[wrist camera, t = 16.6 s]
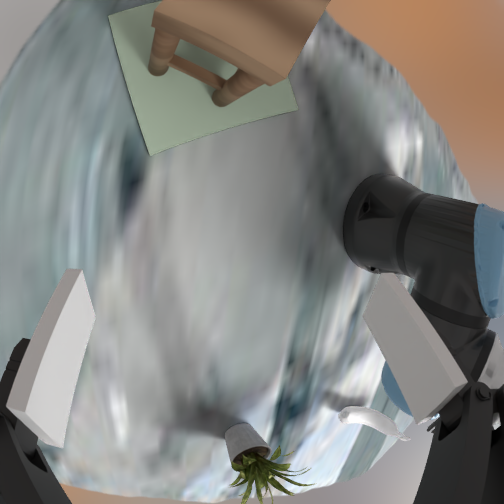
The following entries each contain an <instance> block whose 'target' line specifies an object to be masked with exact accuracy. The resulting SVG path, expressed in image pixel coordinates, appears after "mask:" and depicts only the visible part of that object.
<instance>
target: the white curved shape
mask: <svg viewBox="0 0 504 504" xmlns="http://www.w3.org/2000/svg"><path fill="white" fill-rule="evenodd" d="M338 417H339V420H340V421H341V422H342V423H344V424H350V423H360V424H365V425H368V426H371V427H373V428H375V429H377V430H378V431H380V432H382V433H384V434H386V435H389V436H395V437H397V438H399V439H400V440H403V441H408V440H410V438H409V437H407V436H406V435H404V434H402V433H400V432H399V431H398V427H397V425H396V424H395V422H394V421H393V420H392V419H390V418H389V417H388V416H386V415H384V414H383V413H381V412H379V411H376V410H374V409H370V408H367V407H361V406H348V407H345V408H344V409H342V410H341V411H340V413H339V414H338Z"/></svg>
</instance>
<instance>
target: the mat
mask: <svg viewBox="0 0 504 504" xmlns="http://www.w3.org/2000/svg"><path fill="white" fill-rule="evenodd" d="M161 2H162V1H157V2H153V3H149V4H145V5H141V6H138V7H134V8H131V9H127V10H124V11H121V12H118V13H114V14H111V15H108V18H109V22H110V26H111V30H112V34H113V38H114V42H115V45H116V49H117V53H118V56H119V60H120V64H121V67H122V71H123V74H124V77H125V81H126V84H127V87H128V91H129V94H130V97H131V101H132V104H133V107H134V110H135V113H136V116H137V119H138V122H139V125H140V128H141V131H142V134H143V137H144V140H145V143H146V146H147V149H148V152H149V155H150V156H151V155H154V154H156V153H159V152H161V151H164V150H167V149H169V148H172V147H175V146H177V145H180V144H183V143H186V142H189V141H191V140H194V139H197V138H200V137H203V136H206V135H209V134H212V133H215V132H219V131H222V130H225V129H228V128H231V127H235V126H238V125H242V124H245V123H249V122H252V121H256V120H260V119H263V118H267V117H271V116H275V115H279V114H283V113H288V112H292V111H296V110H298V106H297V103H296V100H295V97H294V93H293V90H292V87H291V84H290V81H289V78H288V76H287V78H286V79H285V80H282V81H280V82H278V83H276V84H274V85H272V86H268V85H266V84H263V85H262V86H260V87H258V88H256V89H254V90H253V91H251V92H249V93H247V94H246V95H244V96H242V97H241V98H239V99H237V100H235V101H234V102H232V103H230V104H229V105H227V106H225V107H219V106H216V105H215V104H214V103H213V101H212V94H213V92H214V91H215V90H216V89H215V88H213V87H211V86H209V85H207V84H205V83H203V82H201V81H199V80H197V79H195V78H193V77H191V76H189V75H187V74H185V73H183V72H181V71H178V70H176V69H174V68H172V67H170V66H169V68H168V71H167V72H166V73H165V74H164V75H162V76H153V75H151V74H150V73H149V71H148V64H149V59H150V53H151V47H152V42H153V37H154V32H155V28H154V27H151V24H152V19H153V14H154V10H155V9H156V8H157V6H158V5H159V4H160V3H161ZM174 54H175V55H177V56H179V57H182V58H184V59H186V60H188V61H190V62H192V63H194V64H196V65H198V66H200V67H203V68H205V69H207V70H208V71H210V72H212V73H214V74H216V75H218V76H220V77H222V78H224V79H226V80H228V79H229V78H230V77H231V76H232V75H234V74H235V73H236V71H237V69H238V68H237V67H236V66H234V65H232V64H230V63H228V62H226V61H225V60H223V59H221V58H219V57H217V56H215V55H213V54H211V53H209V52H207V51H205V50H203V49H201V48H199V47H197V46H195V45H193V44H191V43H188V42H186V41H184V40H182V39H180V41H179V43H178V46H177V48H176V51H175V53H174Z"/></svg>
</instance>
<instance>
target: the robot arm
mask: <svg viewBox="0 0 504 504" xmlns="http://www.w3.org/2000/svg"><path fill="white" fill-rule="evenodd" d="M343 235H344V243H345V247H346V250H347V253H348V255H349V257H350V258H351V260H352V261H353V262H354V263H355V264H356V265H357V266H359V267H361V268H363V269H365V270H367V271H369V272H372V273H377V274H380V277H379V279H378V282H377V284H376V286H375V289H374V291H373V293H372V296H371V298H370V300H369V303H368V305H367V307H366V309H365V311H364V314H363V318H364V320H365V321H366V323H367V325H368V327H369V329H370V331H371V333H372V334H373V336H374V338H375V340H376V342H377V344H378V346H379V348H380V350H381V352H382V354H383V355H384V357H385V359H386V361H385V364H384V367H383V369H382V383H383V385H384V390H385V392H386V394H387V395H388V397H389V398H390V400H391V401H392V402H393V403H394V404H395V405H396V406H397V407H398V408H399V409H401V410H402V411H403V412H405V413H406V414H408V415H410V416H412V417H414V420H415V422H416V424H417V425H418V424H421V423H423V422H426V421H428V420H432V419H436V418H438V417H439V416H440V417H439V418H438V419H437V420H436V421H435V422H433V423H432V424H431V425H430V426H429V427H428V429H427V431H430V430H431V429H432V428H433V427H435V429H434V430H433V431H432V433H434V435H433V439H432V444H431V448H430V452H429V455H428V459H427V463H426V466H425V470H424V473H423V476H422V480H421V482H420V485H419V488H418V491H417V495H416V497H415V500H414V503H413V504H504V349H503V348H502V346H501V343H500V339H499V336H498V334H497V333H495V332H493V331H491V330H489V329H487V327H488V324H489V321H490V319H491V318H492V319H494V318H499V317H501V316H502V315H503V314H504V212H503V211H500V210H497V209H494V208H490V207H489V206H487V205H486V204H475V203H471V202H466V201H462V200H457V199H452V198H448V197H443V196H439V195H433V194H428V193H425V192H423V191H421V190H420V189H418V188H417V187H415V186H413V185H412V184H410V183H408V182H407V181H405V180H403V179H402V178H400V177H397V176H394V175H386V174H377V175H373V176H371V177H369V178H367V179H366V180H364V181H363V182H362V183H361V184H360V185H359V186H358V188H357V189H356V190H355V192H354V193H353V195H352V197H351V199H350V201H349V203H348V206H347V209H346V213H345V218H344V226H343ZM395 274H404V275H407V276H409V277H411V278H413V279H415V283H414V286H413V289H412V292H411V295H410V294H409V293H408V291H407V290H406V288H405V287H404V286H403V285H402V283H401V282H400V281H399V279H398V278H397V277H396V275H395ZM95 319H96V316H95V313H94V309H93V306H92V303H91V300H90V296H89V293H88V289H87V286H86V282H85V278H84V275H83V271H82V269H66V271H65V273H64V275H63V276H62V278H61V280H60V282H59V284H58V285H57V287H56V289H55V291H54V293H53V295H52V297H51V299H50V300H49V302H48V304H47V306H46V308H45V310H44V312H43V314H42V316H41V319H40V321H39V323H38V325H37V327H36V329H35V331H34V334H33V336H32V338H31V339H25V338H23V339H22V340H21V341H20V342H19V343H18V344H17V345H16V346H15V347H14V350H13V352H12V354H11V357H10V361H8V364H7V366H6V370H5V371H4V374H3V376H2V379H1V382H0V504H72V503H71V501H70V500H69V498H68V497H67V495H66V493H65V492H64V490H63V489H62V487H61V485H60V484H59V482H58V480H57V479H56V477H55V475H54V474H53V472H52V470H51V468H50V466H49V465H48V463H47V461H46V459H45V457H44V455H43V453H42V451H41V449H40V447H39V446H38V445H37V440H38V438H40V439H41V440H42V441H43V442H44V443H46V444H49V445H53V446H56V447H60V448H63V445H64V439H65V433H66V428H67V423H68V418H69V413H70V408H71V404H72V399H73V395H74V391H75V387H76V383H77V379H78V375H79V371H80V368H81V364H82V361H83V357H84V354H85V350H86V347H87V344H88V340H89V337H90V334H91V331H92V328H93V325H94V322H95ZM495 423H498V424H500V425H501V426H500V427H498V428H497V429H496V430H494V428H493V425H494V424H495Z"/></svg>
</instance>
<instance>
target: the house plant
mask: <svg viewBox="0 0 504 504" xmlns="http://www.w3.org/2000/svg"><path fill="white" fill-rule="evenodd" d="M225 440H226V445H227V449H228V453H229V457H230V461H231V464H232V468H233V469H234V470H235V471H238V472H240V474H239V476H238V478H237V479H236V480H235V481H234V482H233V483H232V484H231V485H235V484H237V483H238V482H239V481H240V479H241V478H243V479H244V480H243V481H242V482H241V483H239V484H237V485H235V486H239V485H241V484H244V483H246V482H247V481H248V480H249V481H248V486H247V490H246V492H245V493H243V494H244V496H243V499H242V503H241V504H245V503H246V502H247V500H248V498H249V495H250V493H251V490H252V484H253V482H254V479H255V484H256V490H257V496H258V499H259V501H260V503H261V504H263V502H262V494H261V489H260V488H262V487H264V486H265V488H266V492H267V490H268V488H269V486H268V483H267V481H268V482H269V483H270V484H271V485H272V486H273V487H275V488H276V489H278V490H280V491H282V492H284V493H286V494H288V495H292V494H294V493H292V492H290V491H288V490H286V489H285V488H284V487H283V486H282V485H281V484H280V483H279V482H278V481H277V480H275V479H274V478H273V477H274V476H275V475H276V476H278V477H280V478H282V479H284V480H286V481H288V482H290V483H292V484H294V485H298V486H310V485H314V484H310V485H306V484H300V483H297V482H294V481H292V480H290V479H288V478H286V477H283V476H281V475H284V476H296V475H287V474H283V473H280V472H277V471H275V470H278V471H288V470H287V469H288V468H289V467H290V464H276V463H273V462H271V461H269V460H267V459H268V457H269V456H270V455H271V452H272V450H271V448H270V446H269V445H268V444H267V443H266V442H265V441H264V440H263V439H262V438H261V436H260V435H259V434H258V433H257V432H256V431H255V430H254V428H253V427H252V426H251V425H250V424H247V423H241V424H237V425H234V426H232V427H230V428H229V429H228V430H227V431H226V432H225ZM293 452H294V451H293ZM293 452H291V453H293ZM291 453H289V454H287V455H290V454H291ZM280 454H281V449H280V445H279V447H278V448H277V450H276V451H275V452H274V454H273V455H272V457H271V459H270V460H275V459H276V458H278V457H279V456H280ZM287 455H284V456H287ZM306 468H307V467H306ZM273 469H275V470H273ZM310 469H311V468H310ZM310 469H309V470H310ZM303 470H304V469H303ZM269 471H270V472H269ZM301 471H302V470H301ZM307 471H308V470H307ZM307 471H305V472H307ZM288 472H294V471H288ZM297 472H299V471H297ZM305 472H303V473H305ZM272 473H273V474H274V475H273V474H272ZM303 473H301V474H303ZM299 475H300V474H299ZM316 484H317V483H316ZM235 486H232V487H235ZM269 491H270V488H269ZM243 494H242V495H243ZM265 494H266V493H265ZM270 494H271V491H270ZM238 496H241V495H238ZM264 496H265V495H264ZM292 496H294V495H292ZM271 497H272V494H271ZM263 498H264V497H263ZM272 504H273V498H272Z"/></svg>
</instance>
